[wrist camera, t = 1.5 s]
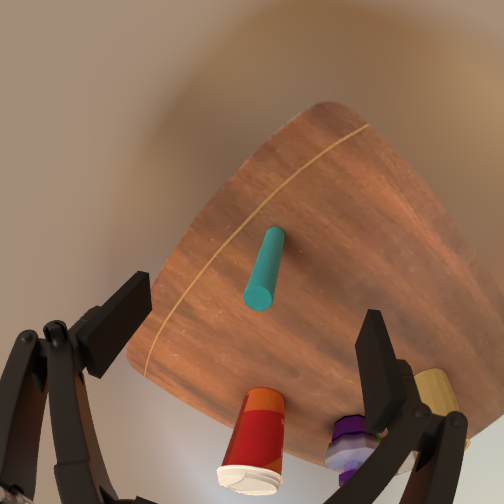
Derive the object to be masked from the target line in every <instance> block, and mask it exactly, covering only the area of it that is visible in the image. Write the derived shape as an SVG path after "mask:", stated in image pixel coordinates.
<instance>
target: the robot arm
mask: <svg viewBox="0 0 504 504" xmlns="http://www.w3.org/2000/svg"><path fill="white" fill-rule="evenodd" d="M151 311H152V303H151V292H150V280H149V273H147V272H142V271H137V273H135V274H134V275H133V276H132V277H131V278H130V279H129V280H128V281H127V282H126V283H125V284H124V285H123V286H122V287H121V288H120V289H119V290H118V291H117V292H116V293H115V294H114V295H113V296H111V297H110V298H109V299H108V300H107V301H106V303H104V305H102V306H101V307H100V306H95V307H93V308H91V309H90V310H88V311H87V312H86V313H85V314H84V316H82V317H81V318H80V320H78V321H77V322H76V323H75V324H74V325H73V326H72V327H71V328H70V329H69V330H67V327H66V324H65V323H64V322H63V321H60V320H54V321H50V322H49V323H47V324H46V325H45V326H44V328H43V332H44V335H45V338H46V339H41V338H38V335H37V333H36V332H35V331H34V330H25V331H23V332H21V333H20V334H19V335H18V337H17V339H16V341H15V344H14V346H13V348H12V350H11V353H10V355H9V358H8V361H7V363H6V366H5V369H4V371H3V374H2V376H1V379H0V504H34V503H33V498H34V494H35V486H36V472H37V460H38V459H37V458H38V450H39V441H40V434H41V426H42V421H43V415H44V409H45V403H46V399H47V394H48V392H49V406H50V416H51V425H52V433H53V439H54V446H55V451H56V458H57V464H56V465H55V466H54V474H55V478H56V483H57V487H58V491H59V495H60V499H61V503H62V504H157V503H154V502H152V501H149V500H146V499H143V498H141V497H138V496H137V497H136V499H135V500H132V499H120V500H119V498H118V496H117V494H116V492H115V490H114V489H113V487H112V485H111V482H110V480H109V477H108V474H107V471H106V468H105V464H104V461H103V458H102V455H101V452H100V448H99V444H98V440H97V437H96V433H95V429H94V425H93V420H92V416H91V412H90V408H89V402H88V397H87V391H86V386H85V380H84V375H83V373H82V371H83V369H84V368H85V367H86V368H87V371H88V373H89V374H90V375H92V376H94V377H97V378H99V379H101V377H102V376H103V375H104V373H105V372H106V370H107V369H108V368H109V366H110V365H111V364H112V362H113V361H114V360H115V358H116V357H117V355H118V354H119V353H120V351H121V350H122V349H123V347H124V346H125V345H126V343H127V342H128V341H129V339H130V338H131V337H132V335H133V334H134V333H135V332H136V330H137V329H138V328H139V326H140V325H141V324H142V322H143V321H144V320H145V318H146V317H147V316H148V315H149V313H150V312H151ZM355 349H356V354H357V360H358V366H359V373H360V379H361V386H362V393H363V401H364V408H365V416H366V425H367V433H382V432H383V431H384V430H385V428H386V427H387V429H388V434H387V435H386V437H385V438H384V439H383V440H382V441H381V443H380V444H379V445H378V446H377V448H376V449H375V450H374V451H373V452H372V454H371V455H370V456H369V457H368V458H367V459H366V460H365V462H364V463H363V464H362V465H361V466H360V467H359V468H358V469H357V470H356V472H355V473H354V474H353V475H352V476H351V477H350V478H349V479H348V480H347V481H346V482H345V483H344V484H343V485H342V486H341V487H340V488H339V489H338V490H337V491H336V492H335V493H334V494H333V495H332V496H331V497H330V498H329V499H327V500H326V502H324V503H323V504H372V503H373V502H374V501H375V499H376V498H377V497H378V496H379V495H380V493H381V492H382V491H383V490H384V488H385V487H386V486H387V485H388V483H389V482H390V480H391V479H392V478H393V477H394V475H395V474H396V473H397V471H398V470H399V469H400V467H401V466H402V464H403V463H404V462H405V460H406V459H407V457H408V456H409V454H410V453H411V451H416V452H418V454H417V457H416V460H415V463H414V466H413V469H412V472H411V475H410V477H409V480H408V483H407V485H406V488H405V490H404V493H403V495H402V498H401V500H400V503H399V504H453V500H454V496H455V493H456V488H457V485H458V480H459V476H460V471H461V466H462V461H463V454H464V449H465V443H466V436H467V427H468V421H467V418H466V416H465V415H464V414H463V413H461V412H459V411H451V412H449V413H448V414H447V415H446V416H441V415H437V414H434V413H432V411H431V409H430V407H429V406H428V405H426V404H425V403H423V402H422V401H421V398H420V394H419V391H418V388H417V385H416V382H415V378H414V376H413V372H412V369H411V366H410V365H409V364H408V363H407V362H406V360H400V359H396V357H395V354H394V350H393V347H392V344H391V341H390V338H389V335H388V332H387V329H386V326H385V323H384V320H383V317H382V315H381V312H380V311H379V310H371V309H368V311H367V314H366V317H365V320H364V322H363V325H362V328H361V330H360V333H359V336H358V338H357V341H356V344H355Z"/></svg>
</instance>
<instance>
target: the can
mask: <svg viewBox="0 0 504 504" xmlns="http://www.w3.org/2000/svg"><path fill="white" fill-rule="evenodd" d="M414 378H415V382H416V385H417V388H418V391H419V394H420V398H421V401H422V402H423V403H425V404H426V405H428V406H429V407H430V409H431V411H432V413H434V414H437V415H441V416H446V415H447V414H448V413H449V412H451V411H459V412H460V409H459V406H458V403H457V400H456V398H455V395H454V392H453V390H452V387H451V385H450V382H449V380H448V377H447V375H446V373H445V371H444V370H442V369H439V368H432V369H427V370H424V371H422V372H420V373H418V374H416V375H415V376H414ZM469 445H470V439H469V436H468V433H467V436H466V443H465V449H464V451H465V450H466V449H467V448H468V446H469ZM415 454H416V457H417V454H418V452H416V451H415Z"/></svg>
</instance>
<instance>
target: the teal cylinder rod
mask: <svg viewBox="0 0 504 504" xmlns="http://www.w3.org/2000/svg"><path fill="white" fill-rule="evenodd" d="M284 239H285V234H284V231H283V230H282V229H281V228H279V227H271V228H269V229H268V230H267V232H266V234H265V237H264V240H263V243H262V245H261V248H260V251H259V254H258V256H257V259H256V262H255V265H254V267H253V270H252V273H251V276H250V278H249V281H248V284H247V287H246V289H245V292H244V296H243V298H244V302H245V304H246V305H247V306H248V307H249V308H251V309H253V310H256V311H263V310H266V309H268V308H269V307H270V306H271V305H272V302H273V298H274V293H275V287H276V282H277V277H278V272H279V266H280V261H281V255H282V250H283V244H284Z"/></svg>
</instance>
